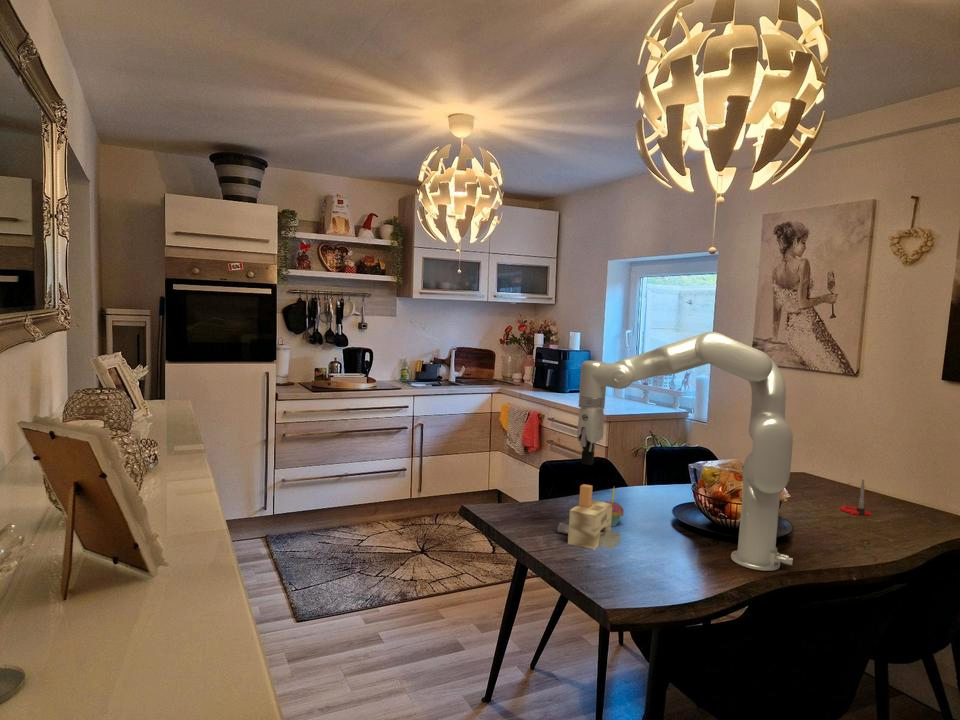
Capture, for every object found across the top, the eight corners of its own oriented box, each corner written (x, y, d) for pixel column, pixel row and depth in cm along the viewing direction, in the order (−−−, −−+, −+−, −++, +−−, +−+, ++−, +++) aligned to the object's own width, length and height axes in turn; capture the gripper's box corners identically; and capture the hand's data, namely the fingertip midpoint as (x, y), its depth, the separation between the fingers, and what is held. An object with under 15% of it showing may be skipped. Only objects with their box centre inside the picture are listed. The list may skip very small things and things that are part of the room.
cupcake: (601, 517, 208) (603, 482, 207) (626, 523, 204) (629, 487, 203) (592, 524, 201) (594, 487, 200) (618, 530, 196) (620, 492, 195)
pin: (619, 543, 186) (620, 533, 185) (613, 549, 181) (613, 538, 180) (563, 529, 195) (563, 520, 194) (555, 535, 190) (556, 525, 189)
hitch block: (610, 536, 191) (612, 504, 190) (593, 550, 179) (596, 515, 178) (585, 530, 195) (587, 498, 194) (567, 543, 183) (569, 510, 182)
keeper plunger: (591, 508, 188) (592, 485, 187) (587, 511, 185) (589, 487, 185) (582, 506, 189) (583, 484, 188) (578, 509, 187) (580, 486, 186)
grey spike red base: (835, 508, 234) (850, 515, 225) (837, 474, 234) (853, 479, 225) (857, 509, 235) (873, 516, 225) (859, 475, 234) (876, 480, 225)
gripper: (594, 406, 176) (590, 471, 178) (612, 401, 189) (607, 461, 191) (570, 403, 180) (565, 466, 182) (588, 398, 193) (584, 457, 194)
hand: (587, 463), depth 186 cm, fingers closed
